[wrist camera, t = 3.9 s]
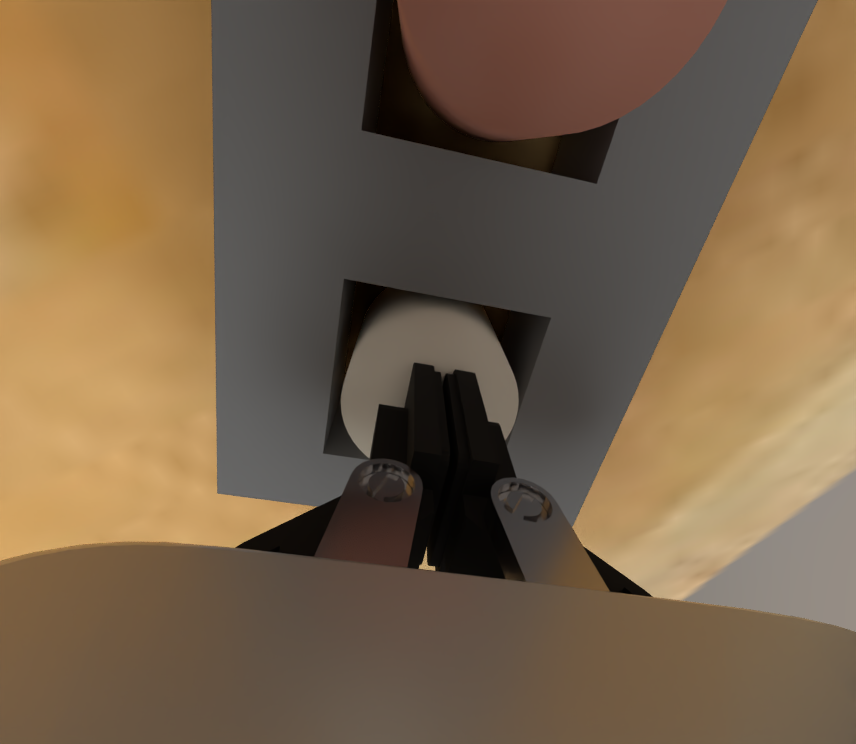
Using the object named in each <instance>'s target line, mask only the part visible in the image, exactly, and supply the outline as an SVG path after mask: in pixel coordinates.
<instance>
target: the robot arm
mask: <svg viewBox="0 0 856 744" xmlns="http://www.w3.org/2000/svg"><path fill="white" fill-rule="evenodd" d="M426 547H427V562H428V565H429V566H435V571H432V570H423V569H419V565H421V564H422V562H423V558H424V555H425V551H426ZM0 744H856V632H854V631H851V630H848V629H845V628H842V627H839V626H834V625H830V624H826V623H822V622H817V621H813V620H809V619H805V618H799V617H794V616H787V615H781V614H775V613H769V612H762V611H756V610H750V609H743V608H735V607H727V606H719V605H712V604H704V603H696V602H688V601H680V600H672V599H664V598H656V597H652V596H651V595H650V594H649V593H648V592H646V591H645V590H644V589H642V588H641V587H639V586H638V585H637V584H635V583H634V582H632V581H631V580H630V579H628V578H627V577H625V576H624V575H623V574H621V573H620V572H618V571H617V570H616V569H614V568H613V567H611V566H610V565H609V564H607V563H606V562H604V561H603V560H602V559H600V558H599V557H597V556H596V555H595V554H593V553H592V552H590V551H589V550H588V549H586V548H585V547H583V545H582V544H581V542H580V540H579V539H578V537H577V535H576V534H575V532H574V530H573V529H572V527H571V525H570V524H569V522H568V520H567V518H566V517H565V515H564V513H563V512H562V510H561V508H560V507H559V505H558V503H557V502H556V500H555V499H554V498H553V497H552V495H551V494H550V493H548V492H547V491H546V490H545V489H544V488H542V487H540V486H539V485H537V484H535V483H533V482H530V481H528V480H525V479H520V478H517V477H516V474H515V471H514V467H513V464H512V461H511V458H510V455H509V452H508V448H507V445H506V442H505V439H504V436H503V433H502V429H501V426H500V424H499V423H496V422H489V421H488V418H487V414H486V410H485V407H484V403H483V399H482V396H481V392H480V389H479V385H478V381H477V378H476V374H475V373H473V372H467V371H462V370H456V369H455V370H454V372H453V374H448V373H446V375H445V378H444V382H443V386H442V377H441V372H436V371H435V370H434V366H433V365H427V364H421V363H415V362H414V364H413V368H412V373H411V378H410V382H409V387H408V392H407V397H406V402H405V407H404V408H402V407H395V406H389V405H383V404H379V407H378V412H377V418H376V423H375V429H374V435H373V441H372V447H371V453H370V459H369V460H368V461H365V462H363V463H361V464H360V465H358V466H357V467H356V468H355V469H354V470H353V472H352V473H351V475H350V478H349V480H348V482H347V484H346V487H345V489H344V491H343V493H342V495H341V496H339V497H337V498H335V499H333V500H331V501H329V502H327V503H325V504H323V505H320V506H318V507H316V508H314V509H312V510H310V511H308V512H306V513H304V514H302V515H300V516H298V517H296V518H293V519H291V520H289V521H287V522H285V523H283V524H281V525H279V526H277V527H275V528H273V529H271V530H269V531H266V532H264V533H262V534H260V535H258V536H256V537H254V538H252V539H250V540H248V541H246V542H244V543H242V544H240V545H239V546H237V547H236V548H230V547H218V546H206V545H194V544H181V543H169V542H112V543H97V544H83V545H76V546H70V547H64V548H58V549H51V550H45V551H39V552H33V553H29V554H25V555H21V556H17V557H13V558H9V559H5V560H2V561H0Z"/></svg>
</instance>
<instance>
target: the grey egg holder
mask: <svg viewBox="0 0 856 744" xmlns="http://www.w3.org/2000/svg"><path fill="white" fill-rule="evenodd" d="M817 1H818V0H727V2H726V4H725V6H724V8H723V10H722V11H721V13H720V15H719V17H718V19H717V20H716V22H715V24H714V26H713V27H712V29H711V31H710V32H709V34H708V35H707V37H706V38H705V39H704V41H703V42H702V44H701V45H700V47H699V48H698V50H697V51H696V52H695V54H694V55H693V56H692V57H691V58H690V60H689V61H688V62H687V63H686V64H685V65H684V67H683V68H682V69H681V70H680V71H679V73H678V74H677V75H676V76H675V77H674V78H672V79H671V80H670V81H669V82H668V83H667V84H666V85H665V86H664V87H663V88H662V89H661V90H660V91H659V92H657V93H656V94H655V95H654V96H652V97H651V98H650V99H648V100H647V101H646V102H644V103H643V104H642V105H641V106H639V107H637V108H636V109H634V110H632V111H631V112H629V113H627V114H626V115H624V116H622V117H621V118H618V119H616V120H614V121H612V122H609V123H607V124H605V125H603V126H600V127H597V128H593V129H590V130H586V131H583V132H579V133H572V134H565V135H562V138H561V141H560V145H559V148H558V152H557V155H556V158H555V162H554V165H553V168H552V172H551V173H547V172H542V171H538V170H534V169H529V168H525V167H520V166H516V165H512V164H507V163H503V162H498V161H494V160H490V159H485V158H481V157H476V156H472V155H467V154H463V153H459V152H454V151H450V150H445V149H441V148H437V147H432V146H428V145H423V144H419V143H415V142H410V141H406V140H401V139H397V138H393V137H388V136H384V135H379V134H376V129H377V122H378V114H379V106H380V99H381V91H382V83H383V76H384V68H385V61H386V53H387V45H388V38H389V30H390V23H391V15H392V7H393V0H211V9H212V91H213V172H214V254H215V335H216V417H217V493H218V494H225V495H233V496H241V497H248V498H256V499H264V500H271V501H279V502H287V503H294V504H302V505H310V506H320V505H323V504H325V503H327V502H329V501H331V500H333V499H335V498H337V497H339V496H341V495H342V493H343V491H344V489H345V487H346V484H347V482H348V480H349V478H350V475H351V473H352V472H353V470H354V469H355V468H356V467H357V466H358V465H360V464H361V463H363V462H365V461H368V460H369V459H370V458H368V457H367V456H366V455H365V454H364V453H363V452H362V451H361V450H360V449H359V448H358V447H357V446H356V444H355V443H354V442H353V440H352V439H351V437H350V435H349V434H348V432H347V429H346V427H345V424H344V421H343V417H342V412H341V393H342V388H343V380H344V373H345V365H346V358H347V350H348V342H349V335H350V327H351V319H352V312H353V304H354V297H355V289H356V281H359V282H364V283H369V284H375V285H380V286H385V287H391V288H396V289H401V290H406V291H412V292H417V293H422V294H428V295H433V296H438V297H444V298H449V299H454V300H460V301H465V302H470V303H475V304H481V305H486V306H491V307H497V308H502V309H507V310H510V314H509V317H508V320H507V324H506V327H505V331H504V334H503V337H502V341H501V344H500V345H501V347H502V349H503V352H504V354H505V356H506V358H507V360H508V363H509V365H510V367H511V369H512V372H513V374H514V377H515V380H516V383H517V388H518V398H519V404H518V412H517V416H516V420H515V423H514V425H513V428H512V430H511V432H510V434H509V435H508V437H507V439H506V440H505V442H506V445H507V448H508V452H509V455H510V458H511V461H512V464H513V467H514V471H515V474H516V477H517V478H520V479H525V480H528V481H530V482H533V483H535V484H537V485H539V486H540V487H542V488H544V489H545V490H546V491H547V492H548V493H550V494H551V495H552V497H553V498H554V499H555V500H556V502H557V503H558V505H559V507H560V508H561V510H562V512H563V513H564V515H565V517H566V518H567V520H568V522H569V524H570V525H571V527H572V526H573V524H574V522H575V520H576V518H577V516H578V514H579V511H580V509H581V507H582V505H583V503H584V501H585V498H586V496H587V494H588V492H589V490H590V488H591V486H592V483H593V481H594V479H595V477H596V475H597V473H598V471H599V468H600V466H601V464H602V462H603V460H604V458H605V456H606V453H607V451H608V449H609V447H610V445H611V443H612V441H613V438H614V436H615V434H616V432H617V430H618V428H619V426H620V423H621V421H622V419H623V417H624V415H625V413H626V411H627V408H628V406H629V404H630V402H631V400H632V398H633V395H634V393H635V391H636V389H637V387H638V385H639V383H640V380H641V378H642V376H643V374H644V372H645V370H646V368H647V365H648V363H649V361H650V359H651V357H652V355H653V353H654V350H655V348H656V346H657V344H658V342H659V340H660V338H661V335H662V333H663V331H664V329H665V327H666V325H667V323H668V320H669V318H670V316H671V314H672V312H673V310H674V308H675V305H676V303H677V301H678V299H679V297H680V295H681V292H682V290H683V288H684V286H685V284H686V282H687V280H688V277H689V275H690V273H691V271H692V269H693V267H694V265H695V262H696V260H697V258H698V256H699V254H700V252H701V250H702V247H703V245H704V243H705V241H706V239H707V237H708V235H709V232H710V230H711V228H712V226H713V224H714V222H715V220H716V217H717V215H718V213H719V211H720V209H721V207H722V205H723V202H724V200H725V198H726V196H727V194H728V192H729V189H730V187H731V185H732V183H733V181H734V179H735V177H736V174H737V172H738V170H739V168H740V166H741V164H742V162H743V159H744V157H745V155H746V153H747V151H748V149H749V147H750V144H751V142H752V140H753V138H754V136H755V134H756V132H757V129H758V127H759V125H760V123H761V121H762V119H763V117H764V114H765V112H766V110H767V108H768V106H769V104H770V102H771V99H772V97H773V95H774V93H775V91H776V89H777V86H778V84H779V82H780V80H781V78H782V76H783V74H784V71H785V69H786V67H787V65H788V63H789V61H790V59H791V56H792V54H793V52H794V50H795V48H796V46H797V44H798V41H799V39H800V37H801V35H802V33H803V31H804V29H805V26H806V24H807V22H808V20H809V18H810V16H811V14H812V11H813V9H814V7H815V5H816V3H817Z"/></svg>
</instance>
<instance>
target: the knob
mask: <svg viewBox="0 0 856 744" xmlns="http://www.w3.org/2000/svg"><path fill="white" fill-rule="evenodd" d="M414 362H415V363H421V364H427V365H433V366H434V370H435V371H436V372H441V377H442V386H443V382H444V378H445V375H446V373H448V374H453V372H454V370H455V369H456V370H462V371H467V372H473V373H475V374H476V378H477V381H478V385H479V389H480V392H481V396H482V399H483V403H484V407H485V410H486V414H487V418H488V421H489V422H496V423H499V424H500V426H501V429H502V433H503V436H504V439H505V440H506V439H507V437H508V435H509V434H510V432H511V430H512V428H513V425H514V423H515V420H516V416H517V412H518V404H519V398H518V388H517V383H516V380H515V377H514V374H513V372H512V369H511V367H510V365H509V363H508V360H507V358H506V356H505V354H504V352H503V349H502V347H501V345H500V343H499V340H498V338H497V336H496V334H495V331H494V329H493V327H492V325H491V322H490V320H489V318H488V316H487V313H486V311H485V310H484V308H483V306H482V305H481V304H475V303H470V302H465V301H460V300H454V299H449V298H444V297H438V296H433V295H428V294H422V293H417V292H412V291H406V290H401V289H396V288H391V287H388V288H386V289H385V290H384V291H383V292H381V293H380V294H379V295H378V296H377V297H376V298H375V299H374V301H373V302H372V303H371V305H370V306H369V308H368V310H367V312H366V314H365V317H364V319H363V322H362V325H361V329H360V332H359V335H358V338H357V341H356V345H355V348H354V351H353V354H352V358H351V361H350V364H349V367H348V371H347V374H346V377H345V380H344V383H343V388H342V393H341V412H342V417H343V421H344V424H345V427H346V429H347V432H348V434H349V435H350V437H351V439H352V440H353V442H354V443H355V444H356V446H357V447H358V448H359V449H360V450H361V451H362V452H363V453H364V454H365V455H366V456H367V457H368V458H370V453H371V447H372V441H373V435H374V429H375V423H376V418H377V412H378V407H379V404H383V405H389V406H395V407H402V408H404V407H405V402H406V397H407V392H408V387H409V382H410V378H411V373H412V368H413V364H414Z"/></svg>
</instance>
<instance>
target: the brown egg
mask: <svg viewBox="0 0 856 744" xmlns="http://www.w3.org/2000/svg"><path fill="white" fill-rule="evenodd" d="M397 2H398V10H399V19H400V28H401V36H402V44H403V50H404V54H405V59H406V63H407V66H408V69H409V72H410V74H411V77H412V80H413V82H414V84H415V86H416V88H417V90H418V92H419V93H420V95H421V96H422V98H423V99H424V101H425V102H426V104H427V105H428V106H429V108H430V109H431V110H432V111H433V112H434V113H435V115H436V116H438V117H439V118H440V119H441V120H442V121H443V122H444V123H445V124H447V125H448V126H450V127H451V128H453V129H454V130H456V131H457V132H460V133H462V134H464V135H466V136H468V137H471V138H474V139H477V140H482V141H488V142H509V141H517V140H525V139H533V138H541V137H549V136H558V135H565V134H572V133H579V132H583V131H586V130H590V129H593V128H597V127H600V126H603V125H605V124H607V123H609V122H612V121H614V120H616V119H618V118H621V117H622V116H624V115H626V114H627V113H629V112H631V111H632V110H634V109H636V108H637V107H639V106H641V105H642V104H643V103H644V102H646V101H647V100H648V99H650V98H651V97H652V96H654V95H655V94H656V93H657V92H659V91H660V90H661V89H662V88H663V87H664V86H665V85H666V84H667V83H668V82H669V81H670V80H671V79H672V78H674V77H675V76H676V75H677V74H678V73H679V71H680V70H681V69H682V68H683V67H684V65H685V64H686V63H687V62H688V61H689V60H690V58H691V57H692V56H693V55H694V54H695V52H696V51H697V50H698V48H699V47H700V45H701V44H702V42H703V41H704V39H705V38H706V37H707V35H708V34H709V32H710V31H711V29H712V27H713V26H714V24H715V22H716V20H717V19H718V17H719V15H720V13H721V11H722V10H723V8H724V6H725V4H726V2H727V0H397Z"/></svg>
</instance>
